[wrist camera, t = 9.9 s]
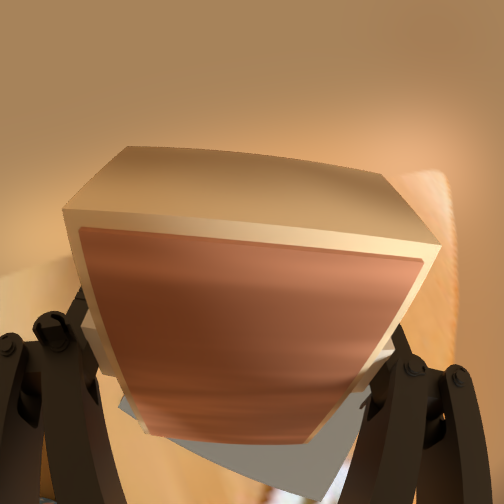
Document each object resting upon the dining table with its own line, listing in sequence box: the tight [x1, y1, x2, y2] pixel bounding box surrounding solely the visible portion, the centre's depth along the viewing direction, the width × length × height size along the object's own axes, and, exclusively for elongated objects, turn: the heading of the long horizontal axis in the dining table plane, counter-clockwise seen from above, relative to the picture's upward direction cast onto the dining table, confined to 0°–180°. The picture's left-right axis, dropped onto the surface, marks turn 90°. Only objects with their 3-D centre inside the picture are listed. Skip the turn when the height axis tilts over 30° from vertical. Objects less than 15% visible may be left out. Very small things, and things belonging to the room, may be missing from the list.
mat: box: [118, 385, 371, 502], centre depth 24 cm, size 20×16×1 cm
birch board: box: [62, 146, 442, 445], centre depth 11 cm, size 4×8×12 cm
